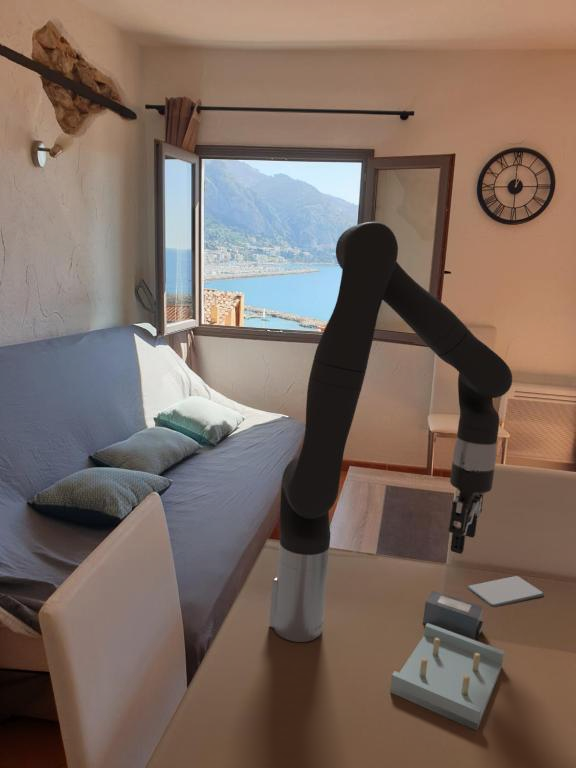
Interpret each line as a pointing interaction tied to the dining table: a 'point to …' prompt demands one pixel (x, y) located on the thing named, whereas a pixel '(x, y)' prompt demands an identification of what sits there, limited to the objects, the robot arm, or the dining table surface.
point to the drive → (453, 615)
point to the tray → (450, 675)
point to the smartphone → (505, 591)
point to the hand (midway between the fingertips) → (462, 543)
